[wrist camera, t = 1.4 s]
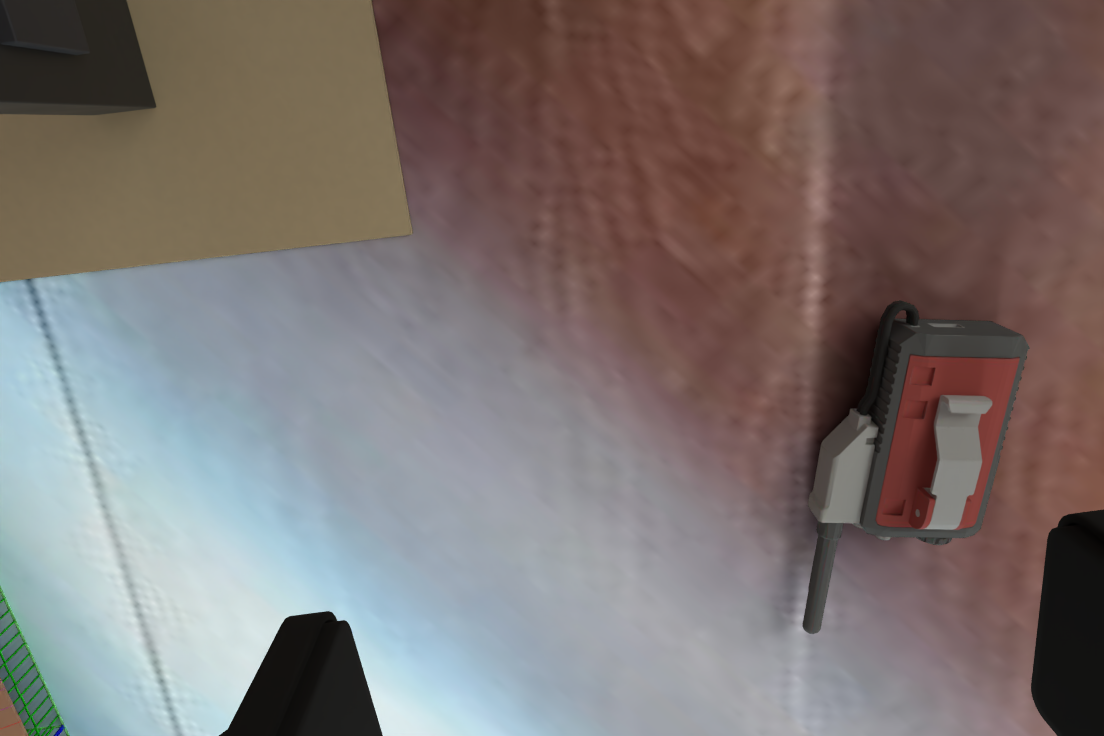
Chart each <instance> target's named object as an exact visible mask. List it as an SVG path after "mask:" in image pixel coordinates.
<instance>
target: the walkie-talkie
mask: <svg viewBox="0 0 1104 736" xmlns="http://www.w3.org/2000/svg"><path fill="white" fill-rule="evenodd" d="M901 310H905V311H906V315H907V317H906V319H894V318H895V316H896V314H897V313H898V312H899V311H901ZM877 332H878V336H877V338H876V341H875V342H876V346H875V348H874V351H873V352H874V357H873V358H872V367H871V368H870V377H869V378H868V381H869V383H868V387H867V388H866V393H865V395H864V397H863V398H862V399H861V400H860V402H859V404H858V407H857V409H851V408H850V413H849V415H848V416H847V417H846V418H845V419H844V420H843V421H842V422H841V423H840V424H839V425H838V426H837V427H836V428H835V429H834V430H833V431H832V432H831V433H830V434H829V435H828V436H827V437H826V438H825V439H824V440H823V442H822V443H821V448H820V454H819V459H818V465H817V470H816V476H815V482H814V487H813V491H812V492H811V493H810V495H809V501H808V507H809V508H810V510H811V511H812V513H813V514H814V515H815V517H816V518H817V520H818V524H817V529H816V530H817V533H818V539H817V545H816V550H815V556H814V561H813V566H812V572H811V577H810V583H809V592H808V598H807V603H806V609H805V615H804V620H803V628H804V630H805V631H806V632H808V633H810V634H815V633H818V632H819V630H820V628H821V623H822V618H823V613H824V608H825V603H826V597H827V592H828V587H829V582H830V577H831V572H832V567H833V562H834V557H835V552H836V546H837V541H838V539H839V538H840V537H841V533H842V527H843V523H852V524H853V525H854V526H856V527H858V528H861V529H864V530H865V532H866V533H867V534H872V535H875V536H876V537H877V538H879V539H881V540H890V538H891V537H916V538H917V539H919V540H921V541H923V542H926V543H930V544H933V545H943V544H947V543H949V542H950V541H951V540H952V538H966V537H969V536H972V535H974V534H975V533H976V532H977V531H979V530H980V529H981V526H982V522H983V518H984V515H985V511H986V507H987V504H988V500H989V496H990V492H991V489H992V485H993V481H994V478H995V474H996V470H997V467H998V463H999V459H1000V451H1001V450H1002V448H1003V446H1002V443H1003V440H1005V432H1006V430H1007V429H1008V427H1007V425H1008V421H1009V420H1010V418H1011V417H1010V414H1011V411H1012V410H1013V407H1012V406H1013V403H1014V401H1015V400H1016V397H1015V395H1016V391H1018V389H1019V387H1018V384H1019V381H1020V380H1021V378H1022V377H1021V373H1022V370H1024V362H1025V360H1026V359H1027V356H1026V355H1027V351H1028V349H1029V346H1028V344H1027V342H1026V340H1025V338H1024V336H1023V335H1021V334H1019V333H1016V332H1014V331H1012V330H1010V329H1007V328H1005V327H1003V326H1001V325H998V324H996V323H994V322H992V321H967V320H928V319H919V315H918V311H917V309H916V308H915V306H914V305H911V304H910V303H907V302H904V301H895V302H893V303H891V304H890V305H889V306H887V308H886V310H885V311H884V313H883V315H882V317H881V321H880V326H879V330H878V331H877Z"/></svg>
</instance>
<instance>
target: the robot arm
mask: <svg viewBox="0 0 1104 736" xmlns="http://www.w3.org/2000/svg"><path fill="white" fill-rule="evenodd" d="M1031 692H1032V696H1033V700H1034V703H1035V705H1036V707H1037V709H1038V711H1039V713H1040V715H1041V716H1042V717H1043V719H1044V720H1045V721H1046V722H1047V724H1048V725H1049V726H1050V727H1051V728H1052V730H1053V731H1054V732H1055V733H1056V734H1057V736H1104V510H1098V511H1090V512H1082V513H1075V514H1068V515H1066V516H1063V517H1062V519H1061V520H1060V521H1059V524H1058V527H1057V528H1054V529H1052V530H1051V531H1050V532H1049V535H1048V539H1047V548H1046V557H1045V566H1044V575H1043V584H1042V593H1041V602H1040V611H1039V620H1038V629H1037V638H1036V647H1035V656H1034V665H1033V674H1032V683H1031ZM219 736H383V735H382V732H381V728H380V725H379V722H378V718H377V715H376V712H375V708H374V705H373V702H372V698H371V695H370V691H369V688H368V685H367V681H366V678H365V675H364V671H363V668H362V665H361V661H360V658H359V655H358V651H357V648H356V644H355V641H354V638H353V634H352V631H351V628H350V626H349V624H348V622H347V621H344V620H343V621H337V619H336V617H335V615H334V614H333V613H332V612H329V611H326V612H319V613H311V614H303V615H296V616H289V617H288V618H286V619H285V620H284V622H283V623H282V624H281V626H280V628H279V630H278V632H277V634H276V636H275V638H274V640H273V642H272V644H271V646H270V648H269V650H268V652H267V654H266V656H265V658H264V660H263V662H262V664H261V665H260V667H259V669H258V671H257V673H256V675H255V677H254V679H253V681H252V683H251V685H250V687H249V689H248V691H247V693H246V695H245V697H244V699H243V701H242V703H241V705H240V706H239V708H238V710H237V712H236V714H235V716H234V718H233V720H232V722H231V724H230V726H229V728H228V730H226V731H225V732H223V733H222V734H221V735H219Z"/></svg>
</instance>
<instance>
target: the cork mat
mask: <svg viewBox="0 0 1104 736" xmlns="http://www.w3.org/2000/svg"><path fill="white" fill-rule="evenodd" d="M127 4H128V7H129V11H130V14H131V18H132V21H133V25H134V29H135V32H136V36H137V39H138V43H139V46H140V50H141V53H142V57H143V60H144V64H145V67H146V71H147V75H148V78H149V82H150V85H151V89H152V92H153V96H154V99H155V103H156V108H151V109H143V110H135V111H126V112H118V113H110V114H102V115H26V114H0V282H6V281H14V280H23V279H32V278H40V277H49V276H57V275H66V274H75V273H83V272H92V271H101V270H109V269H118V268H127V267H135V266H144V265H153V264H161V263H170V262H179V261H187V260H196V259H205V258H213V257H222V256H231V255H239V254H248V253H256V252H265V251H274V250H282V249H291V248H300V247H308V246H317V245H326V244H334V243H343V242H352V241H360V240H369V239H378V238H386V237H395V236H404V235H411V234H413V232H412V226H411V221H410V215H409V209H408V204H407V198H406V192H405V187H404V181H403V175H402V170H401V164H400V158H399V153H398V147H397V142H396V136H395V130H394V125H393V119H392V113H391V108H390V102H389V96H388V91H387V85H386V80H385V74H384V68H383V63H382V57H381V51H380V46H379V40H378V34H377V29H376V23H375V17H374V12H373V6H372V1H371V0H127Z"/></svg>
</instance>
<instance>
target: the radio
mask: <svg viewBox="0 0 1104 736" xmlns="http://www.w3.org/2000/svg"><path fill="white" fill-rule="evenodd" d="M151 108H156V103H155V99H154V96H153V92H152V89H151V85H150V82H149V78H148V75H147V71H146V67H145V64H144V60H143V57H142V53H141V50H140V46H139V43H138V39H137V36H136V32H135V29H134V25H133V21H132V18H131V14H130V11H129V7H128V4H127V0H0V114H26V115H102V114H110V113H118V112H126V111H135V110H143V109H151Z"/></svg>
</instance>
